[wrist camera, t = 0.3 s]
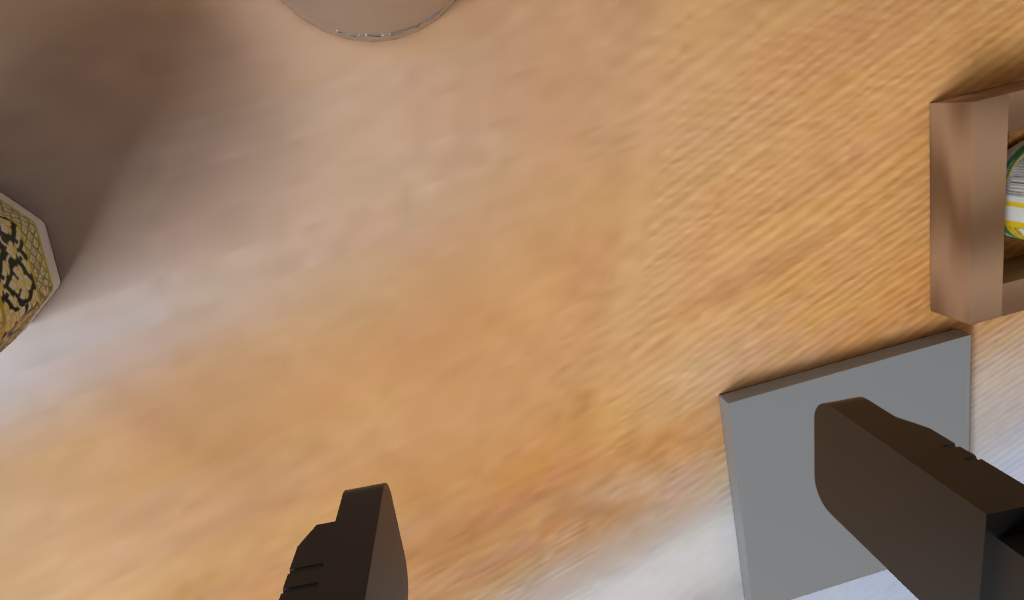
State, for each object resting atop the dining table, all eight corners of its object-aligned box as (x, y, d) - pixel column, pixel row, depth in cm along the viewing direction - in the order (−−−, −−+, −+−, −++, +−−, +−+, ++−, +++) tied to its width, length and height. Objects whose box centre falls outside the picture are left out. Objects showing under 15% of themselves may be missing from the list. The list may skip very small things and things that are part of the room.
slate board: (719, 395, 33) (728, 403, 32) (955, 328, 34) (971, 334, 33) (744, 598, 37) (753, 611, 36) (953, 533, 38) (967, 544, 37)
